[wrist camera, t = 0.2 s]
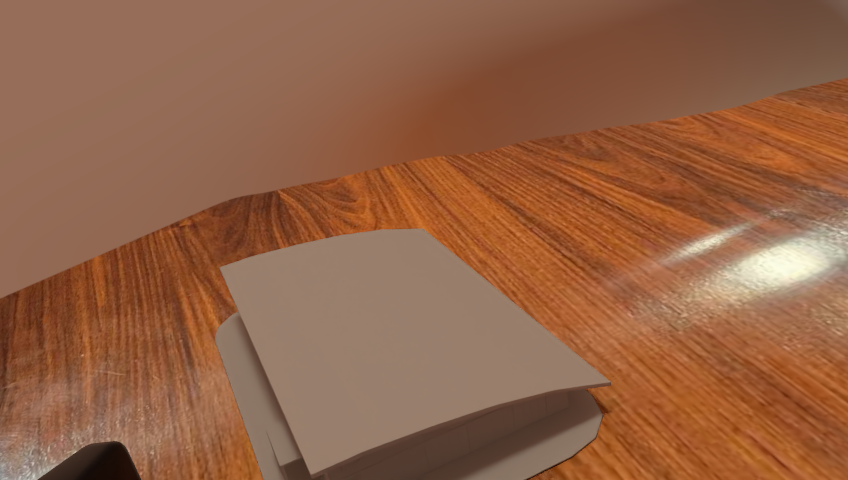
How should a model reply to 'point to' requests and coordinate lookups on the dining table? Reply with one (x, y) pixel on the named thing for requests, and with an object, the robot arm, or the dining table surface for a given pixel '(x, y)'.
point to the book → (396, 366)
